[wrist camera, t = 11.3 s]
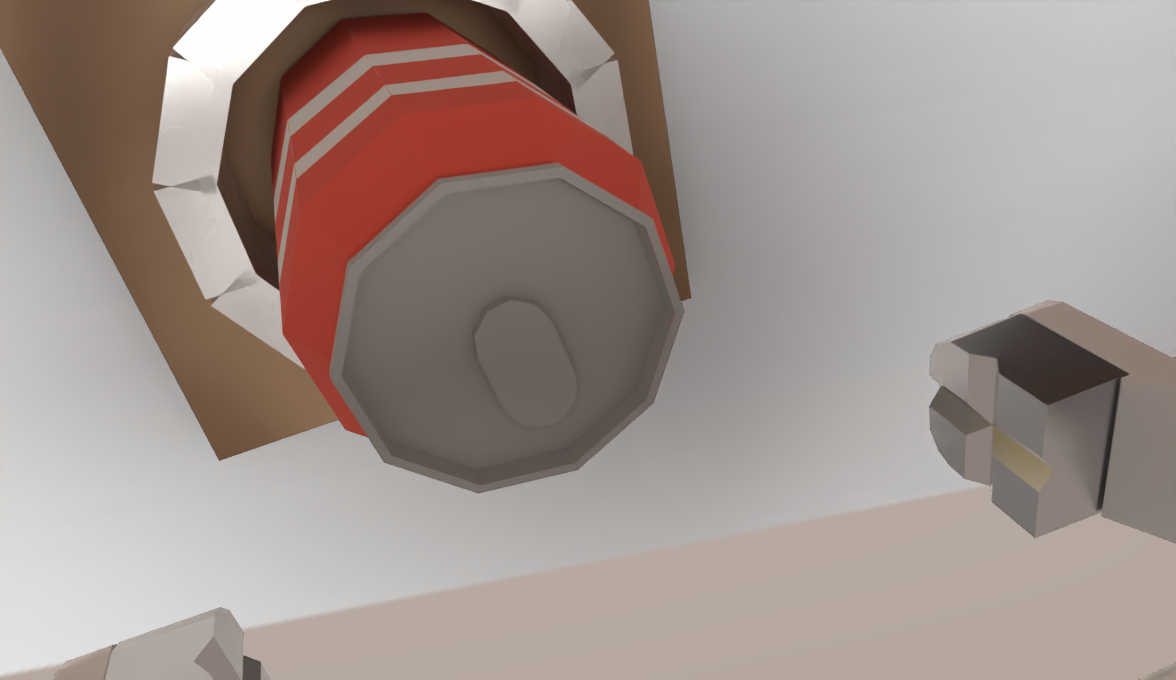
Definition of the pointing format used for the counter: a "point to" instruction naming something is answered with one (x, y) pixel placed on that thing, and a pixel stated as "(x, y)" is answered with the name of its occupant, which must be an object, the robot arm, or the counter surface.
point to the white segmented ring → (200, 110)
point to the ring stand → (247, 168)
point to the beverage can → (463, 257)
